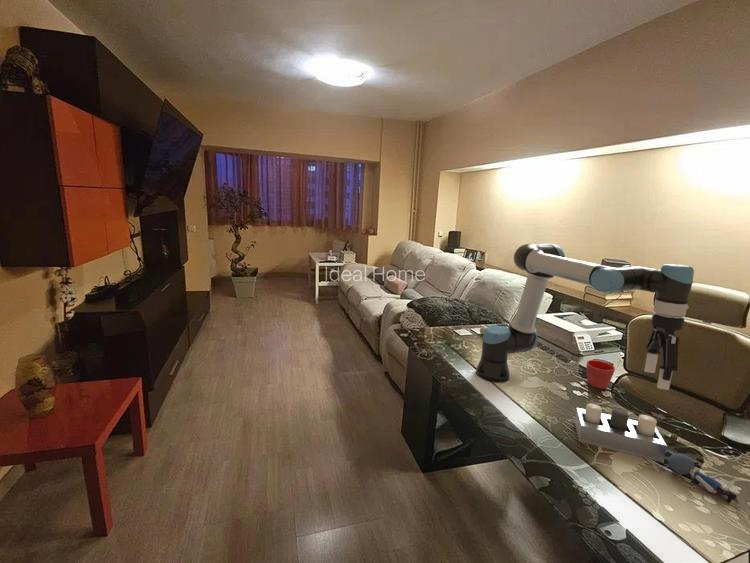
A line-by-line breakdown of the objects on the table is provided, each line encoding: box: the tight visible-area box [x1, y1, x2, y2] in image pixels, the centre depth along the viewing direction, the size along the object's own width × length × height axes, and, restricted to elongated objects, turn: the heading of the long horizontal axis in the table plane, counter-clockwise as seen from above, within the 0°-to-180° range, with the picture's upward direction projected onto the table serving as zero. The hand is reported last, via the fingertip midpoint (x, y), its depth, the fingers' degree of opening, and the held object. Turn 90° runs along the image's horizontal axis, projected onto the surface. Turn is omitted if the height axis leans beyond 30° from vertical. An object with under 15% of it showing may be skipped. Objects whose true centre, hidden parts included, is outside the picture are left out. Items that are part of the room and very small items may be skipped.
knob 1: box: [584, 403, 603, 425], centre depth 117 cm, size 5×5×6 cm
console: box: [574, 407, 668, 464], centre depth 114 cm, size 23×12×6 cm, turn 66°
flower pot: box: [586, 359, 616, 389], centre depth 154 cm, size 11×11×10 cm
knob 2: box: [636, 414, 658, 438], centre depth 111 cm, size 5×5×6 cm
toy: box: [664, 452, 738, 504], centre depth 97 cm, size 7×6×15 cm
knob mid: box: [609, 408, 630, 431], centre depth 114 cm, size 5×5×6 cm
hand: (655, 379), depth 107 cm, fingers open, 12 cm apart
